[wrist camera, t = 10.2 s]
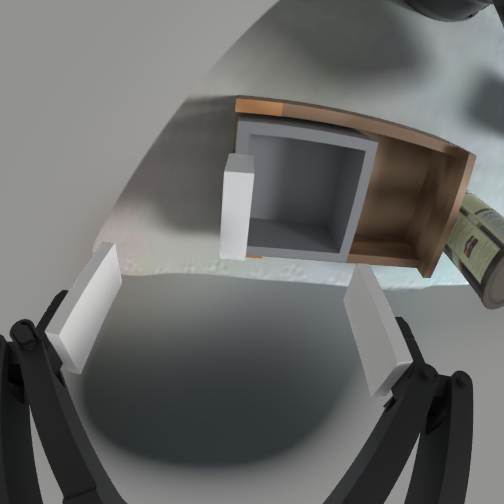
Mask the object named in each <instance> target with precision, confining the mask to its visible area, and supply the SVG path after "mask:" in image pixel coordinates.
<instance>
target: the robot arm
mask: <svg viewBox="0 0 504 504" xmlns="http://www.w3.org/2000/svg"><path fill="white" fill-rule="evenodd" d="M404 1H405V2H407V3H408V4H409V5H410V6H412V7H413V8H414V9H416V10H417V11H419V12H421V13H422V14H424V15H426V16H428V17H430V18H433V19H436V20H439V21H444V22H456V21H464V20H468V19H470V18H472V17H474V16H475V15H476V14H477V13H478V12H479V11H480V10H483V9H484V8H486V7H487V6H489V5H490V4H494V6H495V8H496V10H497V13H498V15H499V17H500V20H501V23H502V25H503V28H504V0H404ZM121 284H122V279H121V274H120V269H119V264H118V259H117V253H116V248H115V243H110V242H102V243H101V245H100V246H99V248H98V249H97V250H96V252H95V253H94V255H93V256H92V257H91V259H90V260H89V262H88V263H87V265H86V266H85V267H84V269H83V270H82V272H81V273H80V275H79V276H78V278H77V279H76V281H75V282H74V284H73V285H72V287H71V289H70V290H69V291H67V290H62V291H61V292H60V293H59V294H58V295H56V296H55V298H54V299H53V301H52V302H51V305H50V306H49V307H48V309H47V311H46V312H45V313H44V315H43V317H42V318H41V320H40V322H39V323H38V325H37V327H36V328H35V326H34V324H33V322H32V321H30V320H27V319H23V320H20V321H18V322H16V323H15V324H14V325H13V326H12V328H11V330H10V337H11V338H12V340H13V342H7V341H6V340H5V338H4V336H2V335H0V504H43V502H42V497H41V493H40V488H39V484H38V478H37V473H36V467H35V461H34V454H33V446H32V437H31V426H30V410H29V405H30V408H31V412H32V416H33V419H34V422H35V425H36V428H37V432H38V435H39V437H40V440H41V443H42V446H43V448H44V451H45V454H46V456H47V459H48V461H49V464H50V466H51V469H52V471H53V473H54V476H55V478H56V480H57V482H58V485H59V487H60V489H61V491H62V493H63V496H64V499H63V504H127V503H126V502H125V501H124V500H123V499H122V498H121V496H120V495H119V493H118V492H117V490H116V488H115V487H114V485H113V483H112V482H111V480H110V478H109V477H108V475H107V473H106V471H105V470H104V468H103V466H102V465H101V462H100V460H99V458H98V457H97V455H96V453H95V451H94V449H93V447H92V445H91V443H90V441H89V439H88V437H87V434H86V432H85V430H84V428H83V426H82V423H81V421H80V419H79V416H78V414H77V412H76V409H75V407H74V404H73V402H72V399H71V396H70V394H69V391H68V388H67V386H66V383H65V380H64V377H63V374H62V372H61V370H60V368H61V366H62V364H63V365H64V366H65V368H66V369H67V371H70V372H74V373H78V374H81V372H82V369H83V367H84V365H85V362H86V360H87V357H88V355H89V352H90V350H91V348H92V346H93V343H94V341H95V339H96V336H97V334H98V332H99V330H100V327H101V325H102V323H103V321H104V319H105V317H106V315H107V313H108V310H109V308H110V306H111V304H112V302H113V300H114V298H115V296H116V294H117V292H118V290H119V288H120V286H121ZM343 302H344V305H345V308H346V311H347V314H348V317H349V321H350V324H351V327H352V330H353V334H354V337H355V340H356V344H357V347H358V350H359V354H360V357H361V361H362V364H363V368H364V372H365V375H366V379H367V382H368V387H369V390H370V394H371V397H378V396H386V394H387V393H388V392H389V391H390V390H392V393H393V396H392V397H391V399H389V401H388V402H387V403H386V404H385V405H384V406H383V407H386V408H385V410H384V412H383V413H382V416H381V417H380V419H379V421H378V422H377V424H376V426H375V428H374V429H373V431H372V433H371V435H370V436H369V438H368V440H367V441H366V443H365V445H364V446H363V448H362V449H361V451H360V453H359V454H358V456H357V457H356V459H355V460H354V462H353V463H352V465H351V466H350V468H349V469H348V471H347V472H346V473H345V475H344V476H343V478H342V479H341V480H340V482H339V483H338V485H337V486H336V487H335V489H334V490H333V491H332V493H331V494H330V495H329V496H328V498H327V499H326V500H325V502H324V503H323V504H384V502H385V500H386V499H387V497H388V495H389V494H390V492H391V490H392V488H393V487H394V485H395V483H396V481H397V479H398V477H399V476H400V474H401V472H402V470H403V468H404V466H405V464H406V462H407V460H408V458H409V456H410V454H411V451H412V449H413V447H414V445H415V443H416V440H417V438H418V436H419V433H420V438H419V443H418V449H417V454H416V459H415V463H414V468H413V472H412V477H411V481H410V485H409V488H408V492H407V496H406V499H405V503H404V504H464V502H465V497H466V491H467V485H468V478H469V471H470V461H471V451H472V437H473V384H472V380H471V378H470V376H469V375H468V374H467V373H465V372H463V371H456V372H455V373H454V374H453V375H452V376H451V377H450V376H444V375H440V374H438V372H437V371H436V370H435V368H434V367H432V366H431V365H429V364H426V363H425V361H424V359H423V357H422V354H421V352H420V350H419V347H418V345H417V343H416V341H415V339H414V336H413V334H412V332H411V329H410V327H409V325H408V324H407V323H406V321H404V320H403V318H402V317H394V315H393V313H392V310H391V308H390V306H389V304H388V302H387V300H386V297H385V295H384V293H383V291H382V289H381V287H380V285H379V283H378V281H377V279H376V277H375V275H374V273H373V271H372V269H371V267H370V265H369V264H360V263H357V264H356V267H355V270H354V273H353V276H352V278H351V281H350V284H349V286H348V289H347V292H346V295H345V297H344V300H343Z"/></svg>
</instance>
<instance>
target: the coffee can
mask: <svg viewBox="0 0 504 504" xmlns="http://www.w3.org/2000/svg"><path fill="white" fill-rule="evenodd" d="M443 251H444V253H445V254H446V255H447V256H448V257H449V259H450V260H451V261H452V262H453V263H454V265H455V266H456V267H457V268H458V270H459V271H460V272H461V273H462V275H463V276H464V277H465V278H466V280H467V281H468V282H469V284H470V285H471V286H472V288H473V289H474V290H475V292H476V293H477V294H478V296H479V297H480V298H481V301H482V303H483V305H484V306H485V307H486V308H488V309H497V308H500V307H502V306H504V217H502V216H501V215H500V214H499V213H498V212H496V211H495V210H494V209H493V208H491V207H490V206H489V205H488V204H486V203H485V202H484V201H482V200H481V199H480V198H478V197H477V196H476V195H475V194H474V193H472V192H470V191H466V192H465V195H464V198H463V201H462V204H461V207H460V210H459V212H458V215H457V218H456V220H455V223H454V225H453V228H452V231H451V233H450V235H449V238H448V240H447V243H446V245H445V247H444V250H443Z"/></svg>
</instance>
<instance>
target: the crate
mask: <svg viewBox="0 0 504 504" xmlns="http://www.w3.org/2000/svg"><path fill="white" fill-rule="evenodd" d="M377 146H378V142H377V141H375V140H373V139H372V138H370V137H368V136H366V135H365V134H363V133H361V132H359V131H357V130H356V129H354V128H350V127H345V126H340V125H335V124H330V123H324V122H318V121H312V120H306V119H299V118H292V117H285V116H274V115H265V114H255V113H244V112H241V113H240V117H239V120H238V129H237V140H236V152H235V154H234V153H229V156H228V160H227V163H226V167H225V171H224V183H223V199H222V216H221V235H220V256H219V258H220V259H233V260H245V257H246V255H256V256H269V257H282V258H295V259H308V260H321V261H334V262H346V261H347V257H348V254H349V251H350V248H351V245H352V241H353V238H354V235H355V232H356V228H357V225H358V221H359V218H360V214H361V211H362V207H363V203H364V200H365V196H366V192H367V188H368V184H369V180H370V176H371V172H372V168H373V164H374V160H375V155H376V151H377Z"/></svg>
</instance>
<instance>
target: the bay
mask: <svg viewBox="0 0 504 504" xmlns="http://www.w3.org/2000/svg"><path fill="white" fill-rule="evenodd" d="M235 112H237V117H236V129H235V140H234V152H233V153H234V154H235V152H236V140H237V129H238V120H239V117H240V113H241V112H244V113H255V114H265V115H274V116H285V117H292V118H299V119H306V120H312V121H318V122H324V123H330V124H335V125H340V126H345V127H350V128H354V129H356V130H357V131H359V132H361V133H363V134H365V135H366V136H368V137H370V138H372V139H373V140H375V141H377V142H378V146H377V151H376V155H375V160H374V164H373V168H372V172H371V176H370V180H369V184H368V188H367V192H366V196H365V200H364V203H363V207H362V211H361V214H360V218H359V221H358V225H357V228H356V232H355V235H354V238H353V241H352V245H351V248H350V251H349V254H348V257H347V261H346V262H344V263H360V264H370V265H384V266H397V267H411V268H417V269H418V271H419V272H420V274H421V275H422V276H423V278H431V276H432V274H433V271H434V269H435V267H436V265H437V263H438V261H439V259H440V256H441V254H442V252H443V250H444V247H445V245H446V243H447V240H448V238H449V235H450V233H451V231H452V228H453V225H454V223H455V220H456V218H457V215H458V212H459V210H460V207H461V204H462V201H463V198H464V195H465V192H466V189H467V186H468V183H469V180H470V177H471V173H472V170H473V167H474V163H475V160H476V155H474V154H473V153H471V152H469V151H467V150H465V149H463V148H461V147H459V146H457V145H455V144H453V143H451V142H449V141H446V140H444V139H442V138H440V137H437V136H435V135H432V134H429V133H426V132H423V131H420V130H417V129H414V128H410V127H407V126H404V125H401V124H397V123H394V122H390V121H386V120H383V119H379V118H375V117H371V116H367V115H363V114H359V113H354V112H350V111H345V110H341V109H336V108H331V107H325V106H320V105H314V104H308V103H302V102H296V101H289V100H281V99H273V98H264V97H254V96H243V95H239V96H238V97H237V98H236V105H235ZM246 257H252V258H262V256H256V255H246ZM266 257H269V256H266ZM279 258H282V257H279ZM292 259H295V258H292ZM305 260H308V259H305ZM318 261H321V260H318ZM331 262H334V261H331Z"/></svg>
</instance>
